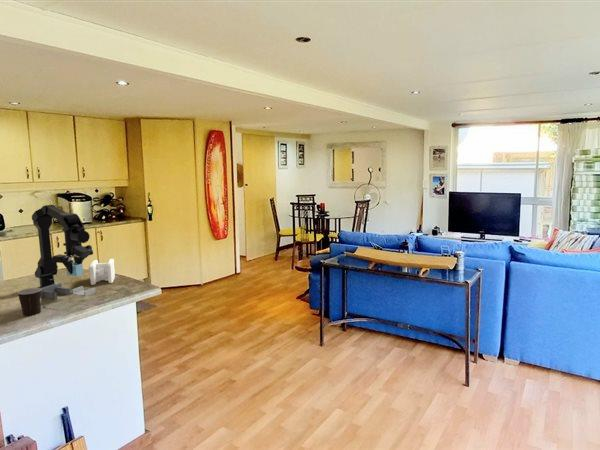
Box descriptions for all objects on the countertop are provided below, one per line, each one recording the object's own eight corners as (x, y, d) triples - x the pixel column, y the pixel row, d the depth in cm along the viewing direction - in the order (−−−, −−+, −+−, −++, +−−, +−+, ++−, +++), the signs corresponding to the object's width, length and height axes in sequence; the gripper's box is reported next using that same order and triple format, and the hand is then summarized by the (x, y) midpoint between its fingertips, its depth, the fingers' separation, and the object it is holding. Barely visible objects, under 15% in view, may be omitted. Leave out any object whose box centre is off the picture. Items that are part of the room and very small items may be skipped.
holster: (72, 295, 205) (71, 289, 205) (82, 291, 211) (81, 286, 210) (85, 297, 202) (85, 291, 202) (95, 293, 208) (95, 287, 207)
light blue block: (67, 275, 201) (65, 263, 200) (73, 273, 204) (72, 261, 203) (76, 276, 199) (75, 264, 198) (83, 274, 202) (82, 262, 201)
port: (36, 300, 198) (34, 288, 198) (58, 292, 210) (57, 281, 209) (52, 302, 195) (51, 291, 194) (74, 294, 206) (73, 284, 205)
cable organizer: (112, 285, 221) (110, 264, 219) (89, 287, 218) (88, 265, 216) (115, 277, 235) (113, 257, 233) (94, 279, 232) (93, 258, 230)
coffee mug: (27, 309, 186) (24, 288, 184) (47, 309, 187) (45, 287, 185) (11, 320, 174) (8, 296, 173) (33, 319, 175) (30, 296, 174)
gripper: (68, 245, 187) (71, 279, 190) (100, 238, 205) (103, 269, 207) (49, 244, 191) (52, 277, 193) (82, 236, 208) (85, 267, 211)
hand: (74, 272), depth 201 cm, fingers closed on light blue block, 4 cm apart
